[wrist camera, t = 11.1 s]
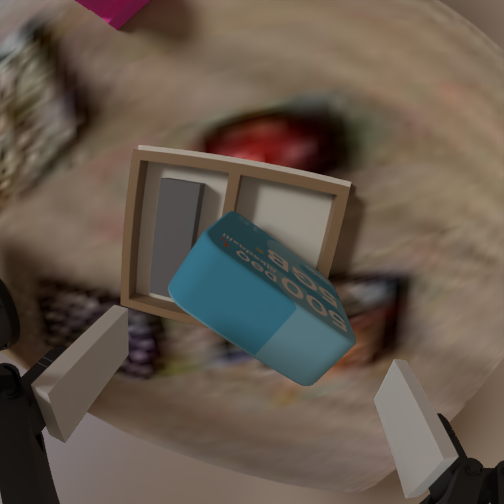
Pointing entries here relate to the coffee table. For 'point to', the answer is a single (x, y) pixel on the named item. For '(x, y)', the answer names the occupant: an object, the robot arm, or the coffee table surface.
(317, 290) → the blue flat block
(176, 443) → the coffee table surface
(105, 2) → the pink plastic figure
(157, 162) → the slot board
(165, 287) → the rubber bar
